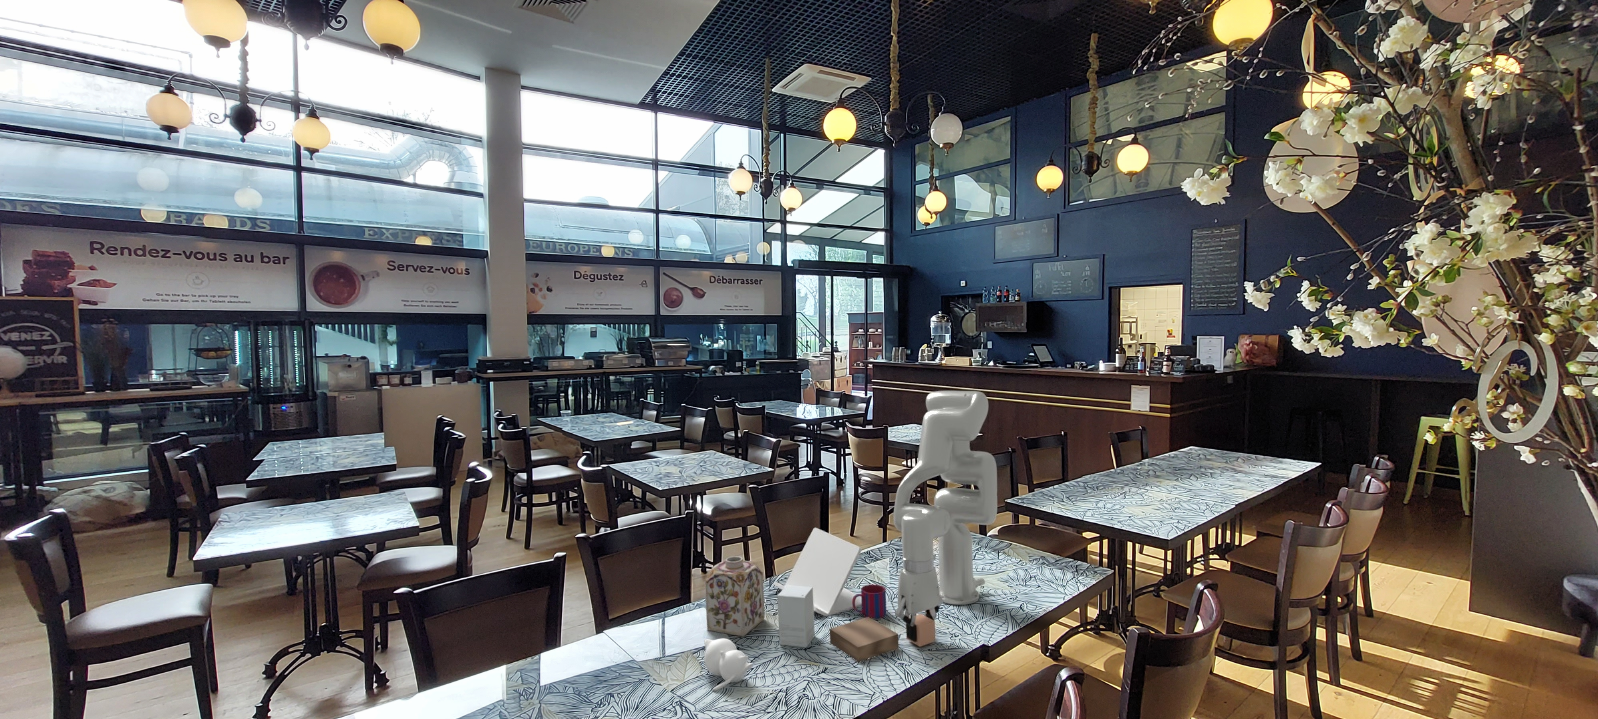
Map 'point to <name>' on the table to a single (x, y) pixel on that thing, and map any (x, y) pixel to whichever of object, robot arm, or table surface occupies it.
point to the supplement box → (796, 616)
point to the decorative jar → (734, 597)
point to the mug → (872, 601)
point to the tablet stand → (826, 572)
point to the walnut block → (864, 639)
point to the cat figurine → (725, 661)
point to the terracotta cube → (924, 630)
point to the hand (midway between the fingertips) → (920, 635)
